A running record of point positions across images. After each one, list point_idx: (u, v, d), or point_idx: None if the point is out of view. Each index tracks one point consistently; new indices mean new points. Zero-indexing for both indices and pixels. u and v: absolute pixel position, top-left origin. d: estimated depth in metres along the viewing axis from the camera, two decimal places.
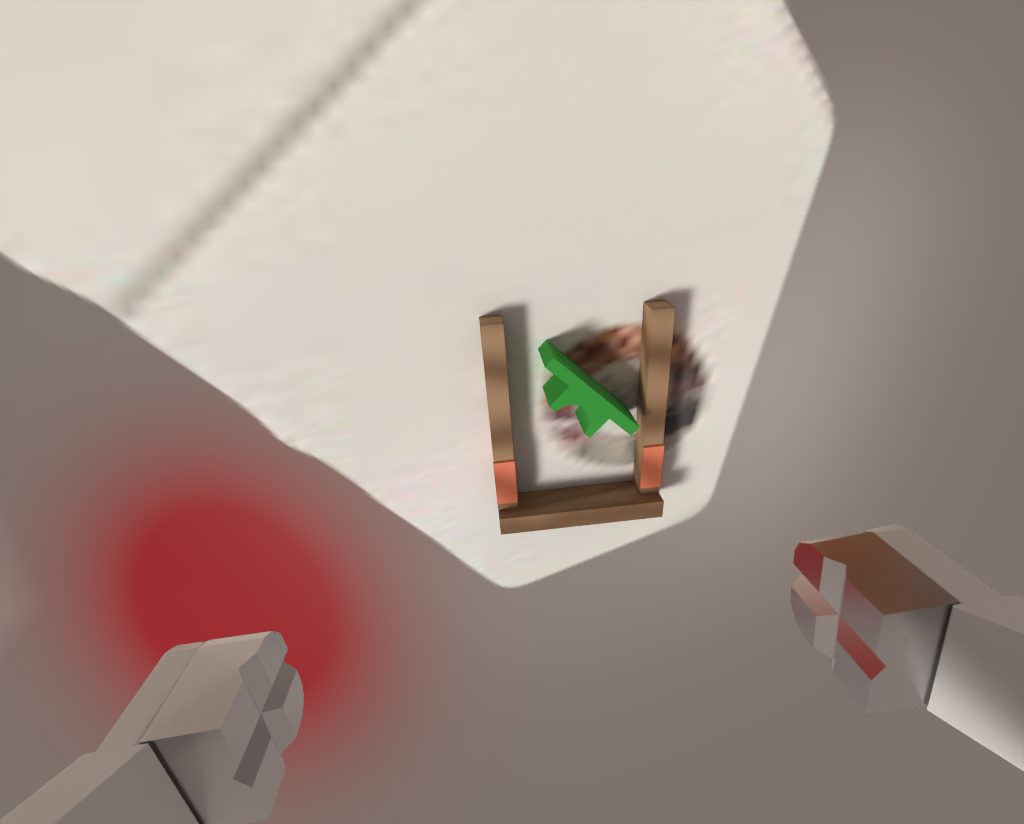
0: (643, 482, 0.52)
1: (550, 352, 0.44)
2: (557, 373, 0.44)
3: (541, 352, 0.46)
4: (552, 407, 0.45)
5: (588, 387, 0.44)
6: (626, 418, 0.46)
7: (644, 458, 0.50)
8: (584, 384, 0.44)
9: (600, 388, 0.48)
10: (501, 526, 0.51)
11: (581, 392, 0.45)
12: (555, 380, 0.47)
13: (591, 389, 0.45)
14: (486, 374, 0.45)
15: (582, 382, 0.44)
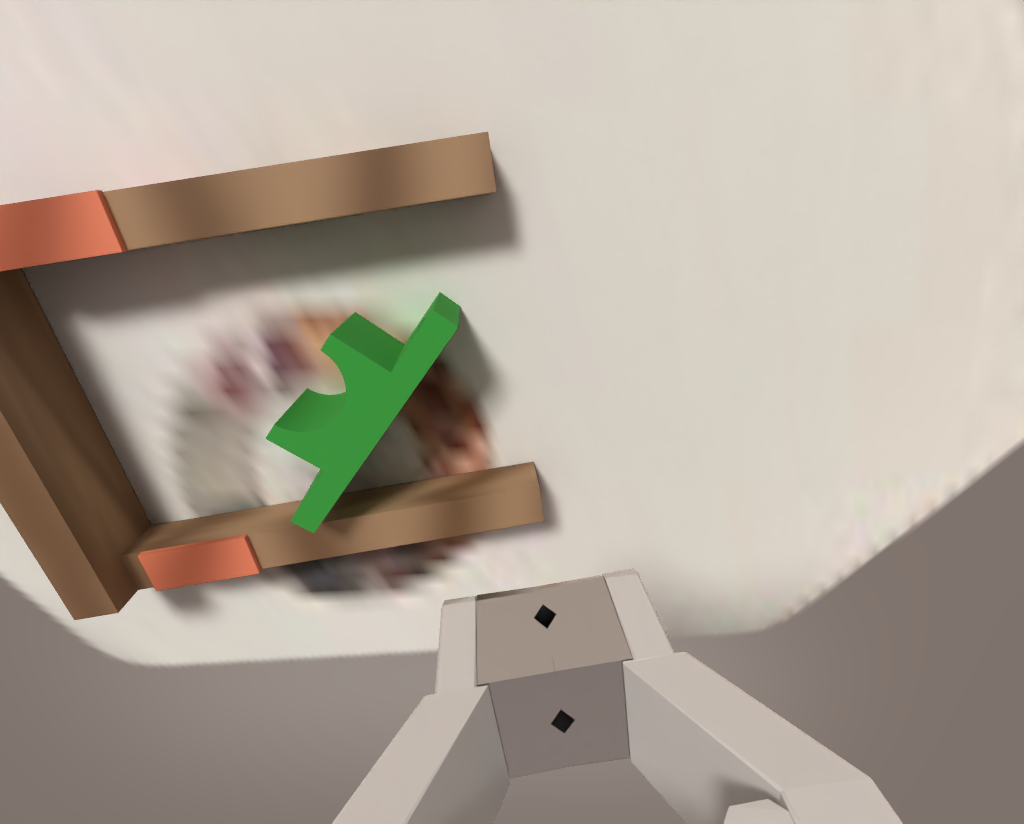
0: (155, 557, 0.23)
1: (456, 318, 0.20)
2: (420, 341, 0.19)
3: (441, 299, 0.22)
4: (330, 341, 0.19)
5: (394, 413, 0.20)
6: (330, 503, 0.21)
7: (219, 545, 0.23)
8: (400, 404, 0.20)
9: None
10: None
11: (379, 400, 0.20)
12: (380, 338, 0.22)
13: (389, 420, 0.20)
14: (364, 155, 0.18)
15: (404, 399, 0.20)
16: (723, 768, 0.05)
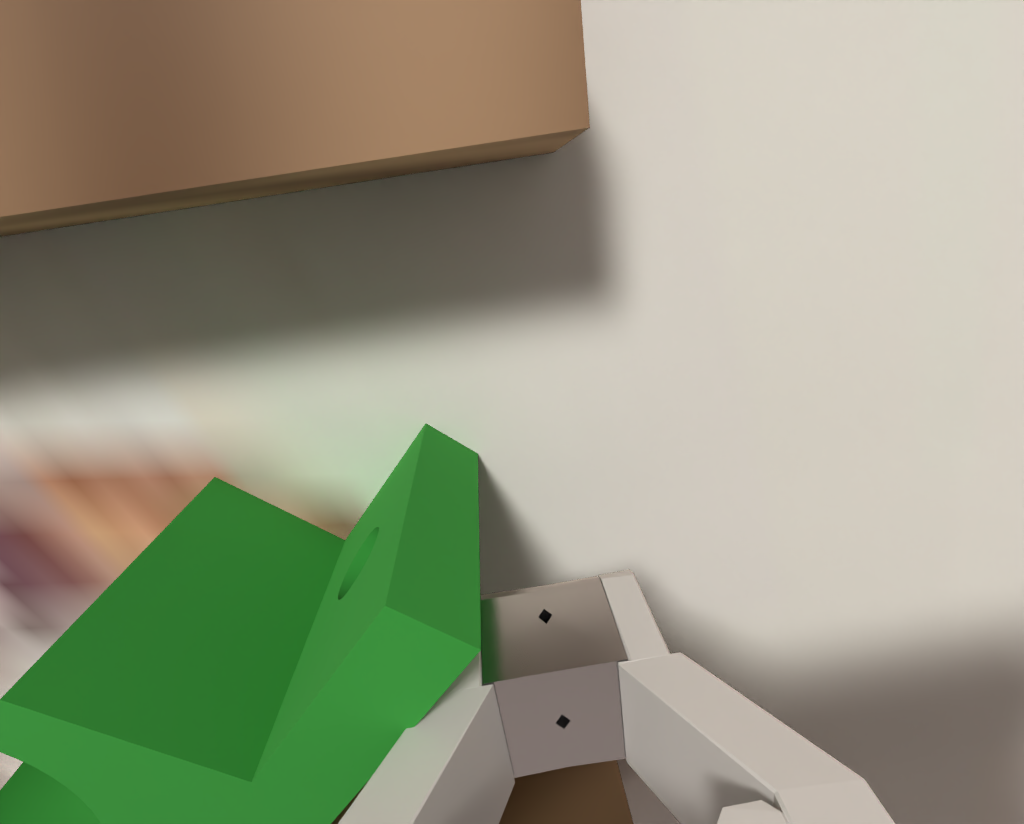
0: None
1: (473, 559, 0.06)
2: (343, 697, 0.05)
3: (428, 466, 0.08)
4: (7, 718, 0.05)
5: None
6: None
7: None
8: None
9: None
10: None
11: None
12: (266, 562, 0.08)
13: None
14: None
15: None
16: (717, 769, 0.05)
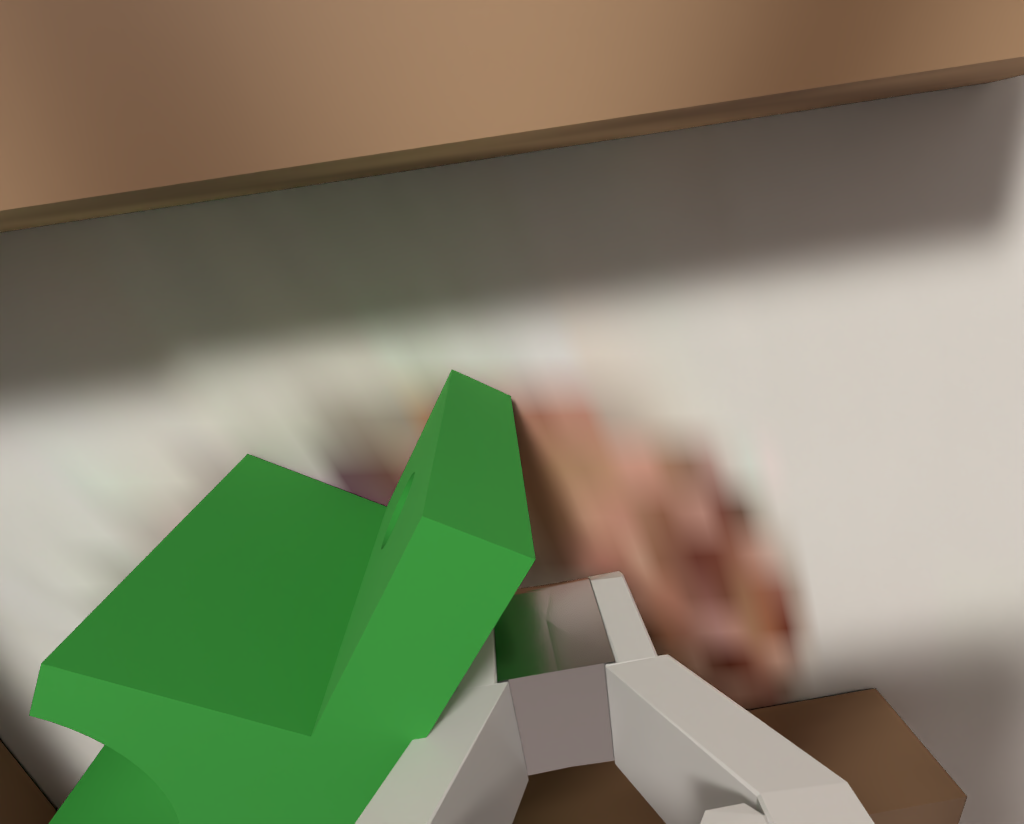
0: None
1: (516, 482, 0.06)
2: (393, 629, 0.05)
3: (458, 403, 0.07)
4: (52, 684, 0.05)
5: None
6: None
7: None
8: None
9: None
10: None
11: (294, 813, 0.06)
12: (307, 529, 0.08)
13: None
14: None
15: None
16: (702, 771, 0.05)
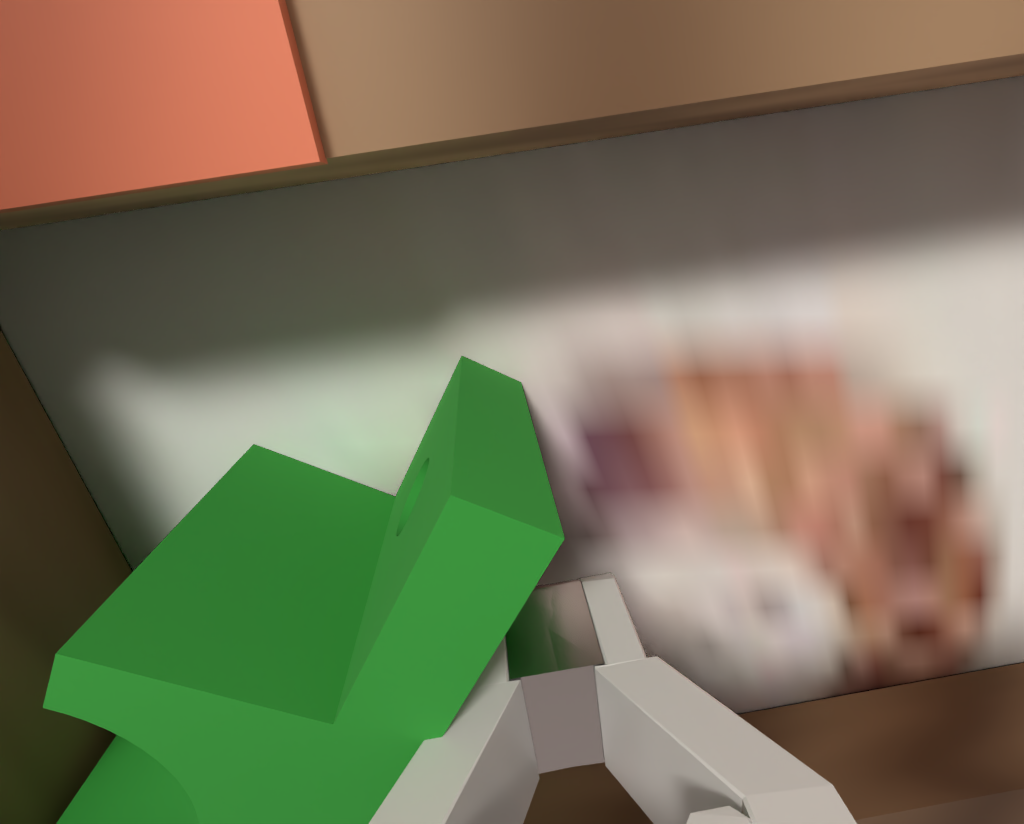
0: None
1: (537, 464, 0.06)
2: (419, 612, 0.05)
3: (471, 388, 0.07)
4: (67, 675, 0.05)
5: None
6: None
7: None
8: None
9: None
10: None
11: (316, 802, 0.06)
12: (317, 518, 0.08)
13: None
14: None
15: None
16: (689, 774, 0.05)
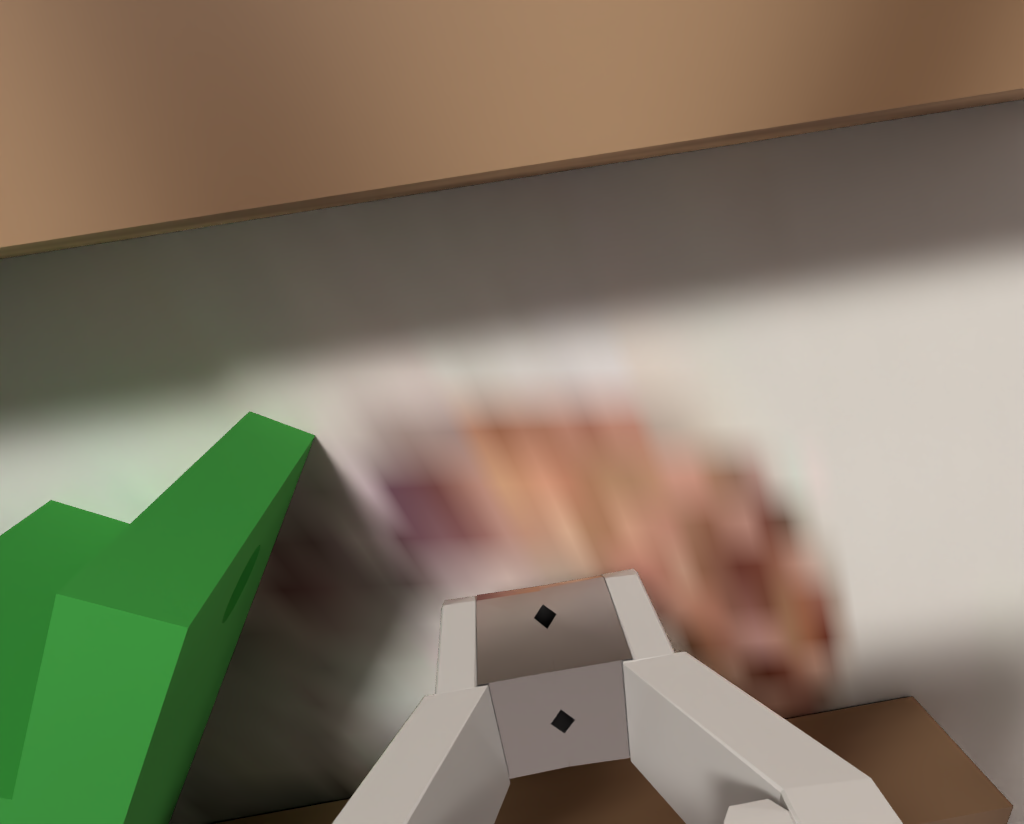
0: None
1: (238, 536, 0.06)
2: (62, 698, 0.05)
3: (227, 450, 0.07)
4: None
5: None
6: None
7: None
8: None
9: (175, 778, 0.09)
10: None
11: None
12: None
13: None
14: None
15: None
16: (723, 768, 0.05)
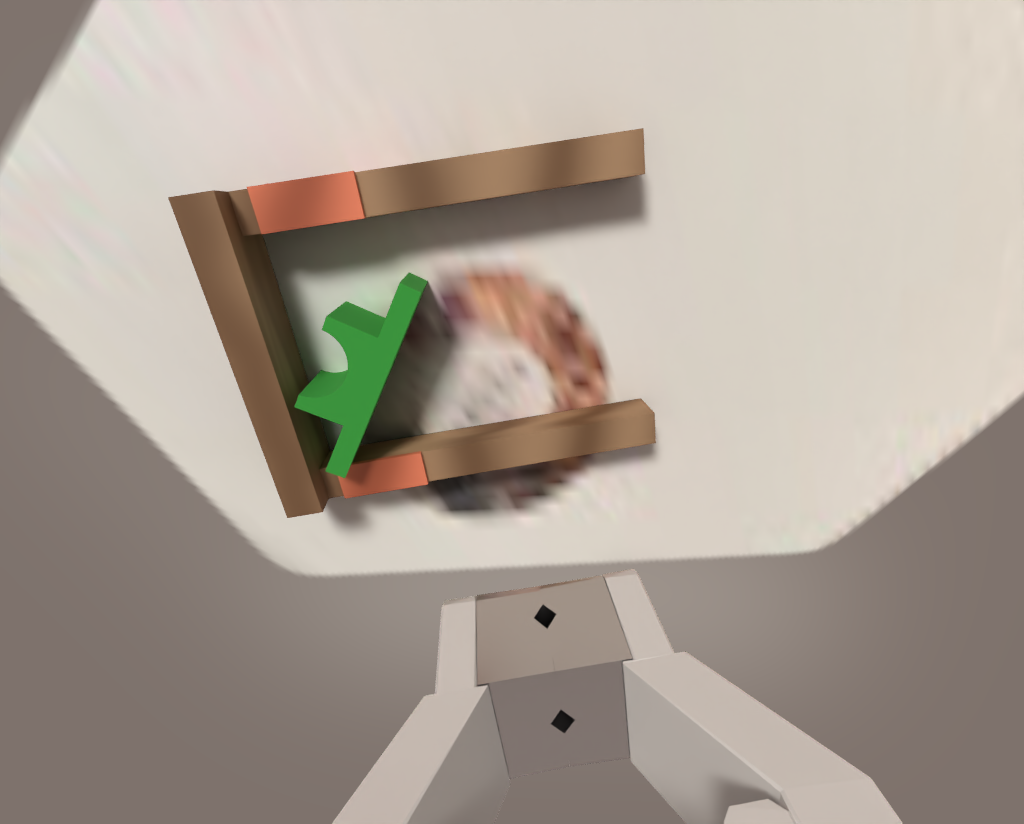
0: None
1: (421, 287, 0.26)
2: (394, 309, 0.25)
3: (409, 276, 0.27)
4: (327, 321, 0.25)
5: (386, 370, 0.26)
6: (353, 452, 0.27)
7: (400, 459, 0.29)
8: (389, 362, 0.26)
9: (380, 393, 0.29)
10: (193, 196, 0.22)
11: (373, 361, 0.25)
12: (368, 316, 0.28)
13: (384, 376, 0.26)
14: (550, 145, 0.24)
15: (392, 357, 0.25)
16: (723, 768, 0.05)
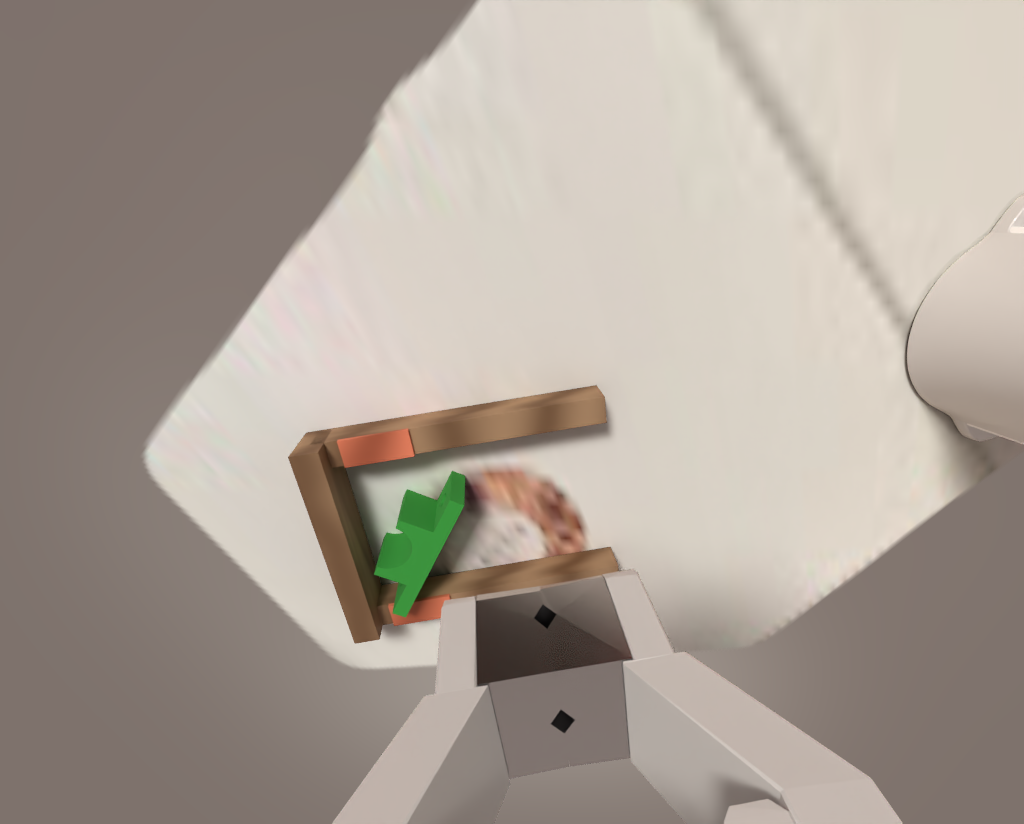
0: None
1: (463, 495, 0.37)
2: (445, 515, 0.36)
3: (453, 480, 0.38)
4: (400, 523, 0.36)
5: (438, 551, 0.37)
6: (412, 601, 0.39)
7: (434, 600, 0.41)
8: (440, 546, 0.37)
9: None
10: (304, 456, 0.34)
11: (429, 546, 0.37)
12: (423, 504, 0.39)
13: (436, 555, 0.37)
14: (541, 409, 0.35)
15: (442, 543, 0.37)
16: (723, 768, 0.05)
